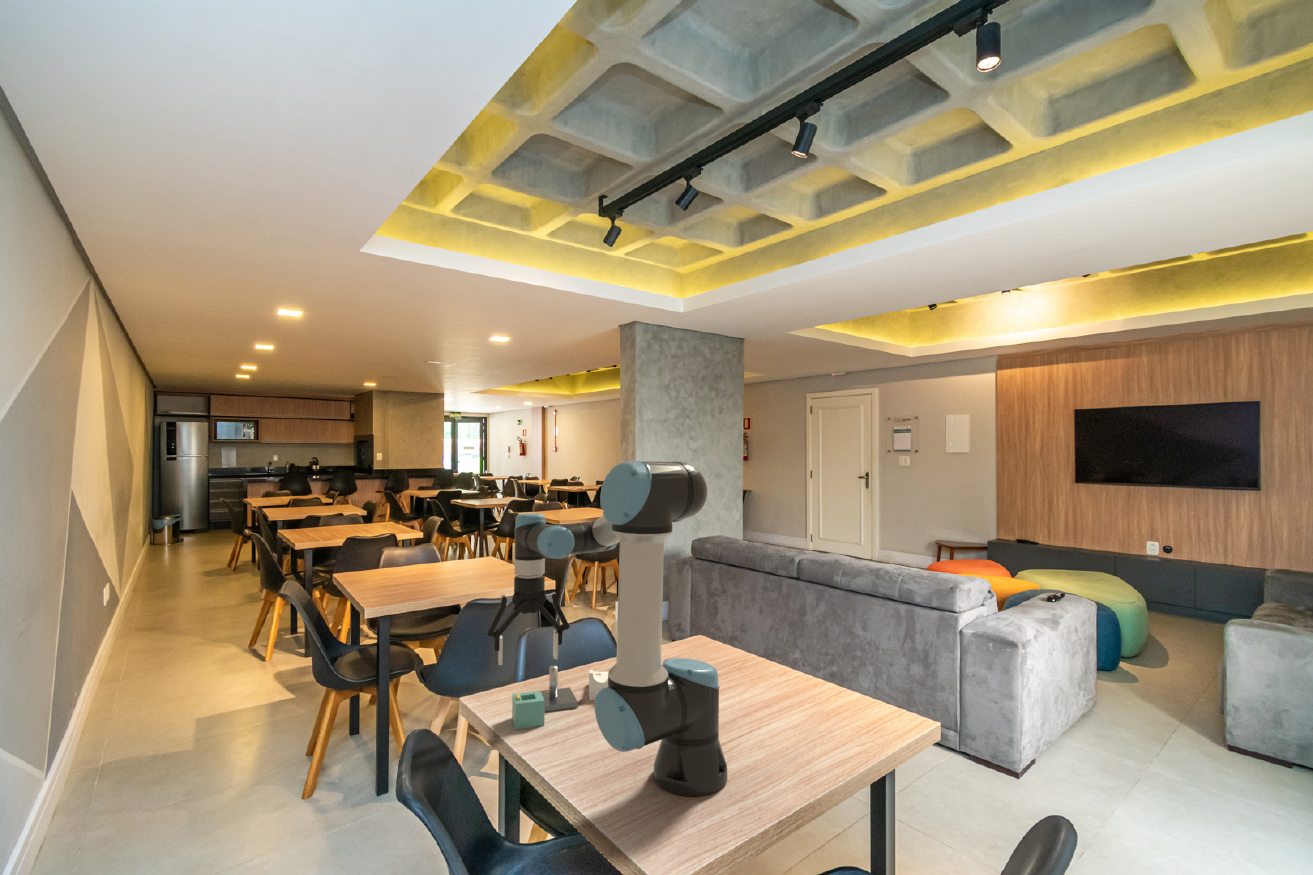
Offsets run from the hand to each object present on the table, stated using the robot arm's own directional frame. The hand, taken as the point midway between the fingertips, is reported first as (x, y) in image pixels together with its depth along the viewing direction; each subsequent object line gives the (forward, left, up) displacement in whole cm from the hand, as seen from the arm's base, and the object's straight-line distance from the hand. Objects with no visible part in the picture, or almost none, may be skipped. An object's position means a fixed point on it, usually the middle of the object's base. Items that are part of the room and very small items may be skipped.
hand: (528, 660), depth 152 cm
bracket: (+13, -23, -15) cm, 31 cm away
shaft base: (+10, -8, -15) cm, 20 cm away
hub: (0, 0, -15) cm, 15 cm away
